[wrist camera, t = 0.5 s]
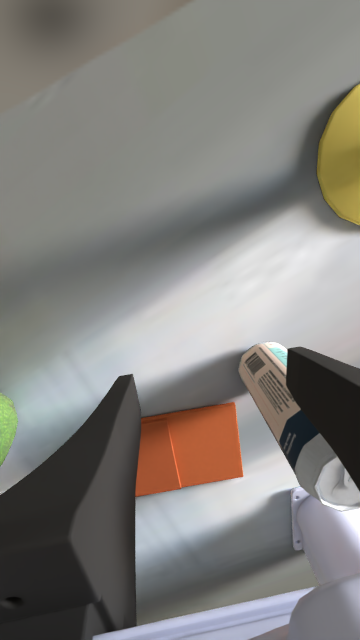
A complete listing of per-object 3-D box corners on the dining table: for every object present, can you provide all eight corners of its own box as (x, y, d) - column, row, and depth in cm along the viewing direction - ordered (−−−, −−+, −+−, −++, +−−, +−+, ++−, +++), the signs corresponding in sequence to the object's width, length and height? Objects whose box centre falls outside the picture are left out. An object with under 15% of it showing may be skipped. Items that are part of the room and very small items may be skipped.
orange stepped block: (242, 473, 27) (244, 479, 26) (121, 494, 27) (120, 501, 26) (234, 401, 24) (236, 406, 24) (100, 424, 24) (98, 430, 24)
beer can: (238, 390, 24) (305, 524, 13) (235, 343, 23) (306, 447, 11) (288, 382, 24) (399, 509, 13) (288, 336, 23) (413, 431, 11)
